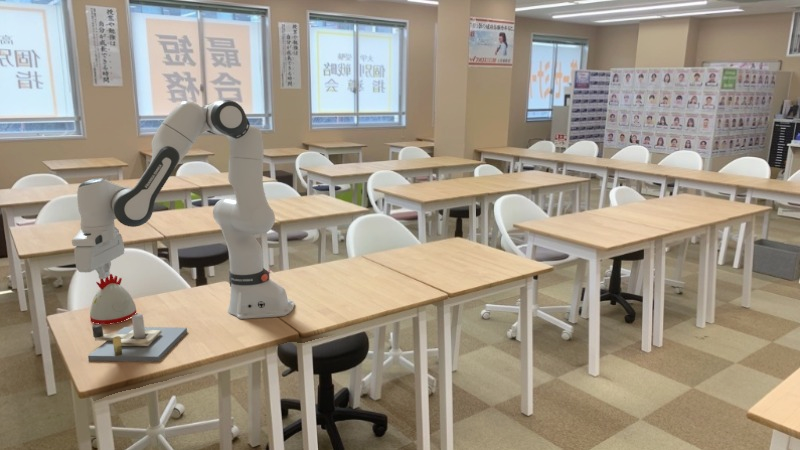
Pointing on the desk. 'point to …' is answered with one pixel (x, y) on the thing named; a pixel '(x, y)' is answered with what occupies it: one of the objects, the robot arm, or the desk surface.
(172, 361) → the desk surface
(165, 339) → the board
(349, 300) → the desk surface
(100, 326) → the knobbed lever handle
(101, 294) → the kitchen timer
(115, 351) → the gold rounded cylinder
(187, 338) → the desk surface
